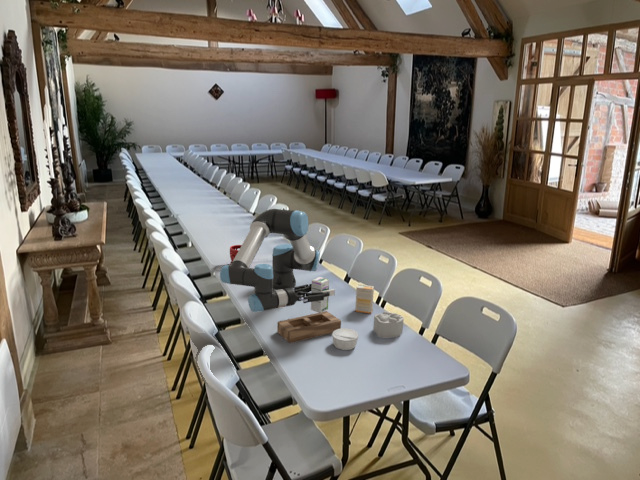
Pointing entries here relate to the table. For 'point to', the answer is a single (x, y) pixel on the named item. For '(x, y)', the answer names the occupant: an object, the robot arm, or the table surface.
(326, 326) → the wooden divided tray
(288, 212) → the robot arm
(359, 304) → the supplement box
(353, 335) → the ramekin
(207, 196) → the table surface
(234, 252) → the plant pot
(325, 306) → the syrup box
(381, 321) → the lumpy-topped squat cylinder
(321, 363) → the table surface
